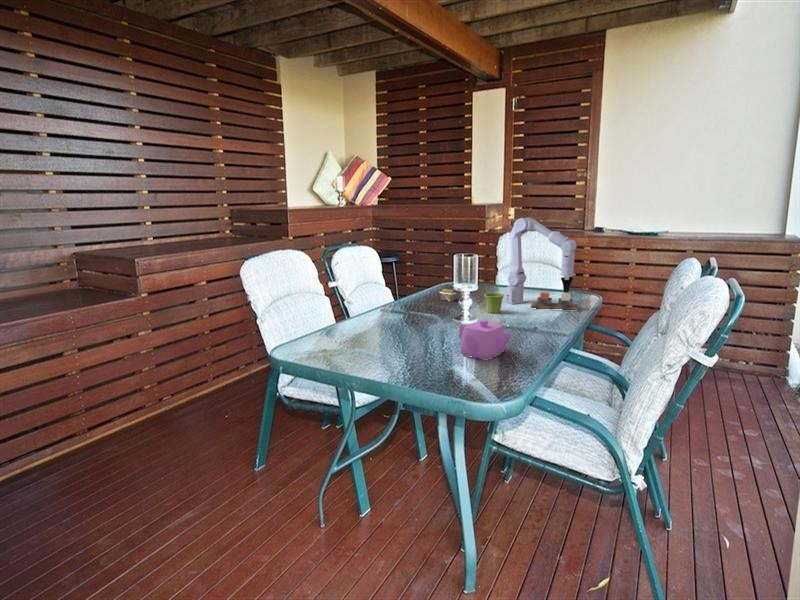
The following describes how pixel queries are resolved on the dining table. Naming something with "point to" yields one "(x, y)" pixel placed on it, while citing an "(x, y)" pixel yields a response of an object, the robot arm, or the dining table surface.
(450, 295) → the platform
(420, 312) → the dining table surface
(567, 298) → the cream button
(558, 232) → the robot arm
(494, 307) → the plant pot
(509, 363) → the dining table surface
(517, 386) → the dining table surface
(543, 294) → the red button
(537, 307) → the block
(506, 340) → the teakettle
